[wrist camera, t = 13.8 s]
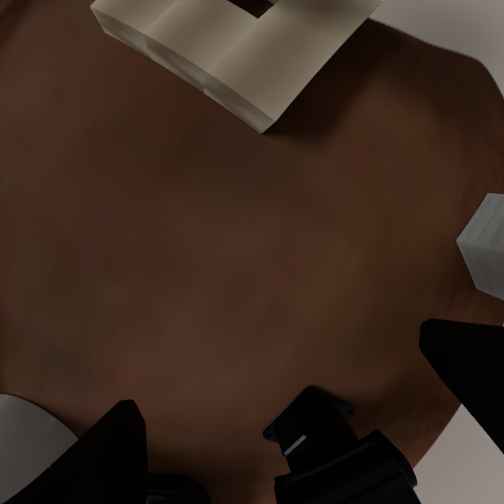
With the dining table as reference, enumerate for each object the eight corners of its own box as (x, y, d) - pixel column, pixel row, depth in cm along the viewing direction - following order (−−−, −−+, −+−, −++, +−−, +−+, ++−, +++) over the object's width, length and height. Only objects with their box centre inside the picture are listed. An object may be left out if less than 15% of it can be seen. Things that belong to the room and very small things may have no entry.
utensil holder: (113, 437, 22) (85, 603, 5) (89, 498, 23) (72, 609, 6) (-19, 361, 18) (-112, 475, 1) (-14, 442, 20) (-62, 536, 3)
